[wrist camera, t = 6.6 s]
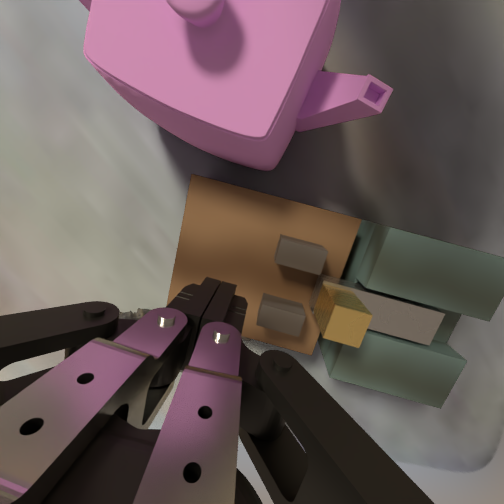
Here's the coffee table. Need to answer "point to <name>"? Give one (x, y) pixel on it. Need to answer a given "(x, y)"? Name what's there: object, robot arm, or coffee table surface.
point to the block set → (340, 266)
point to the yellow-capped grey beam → (369, 313)
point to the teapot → (229, 71)
